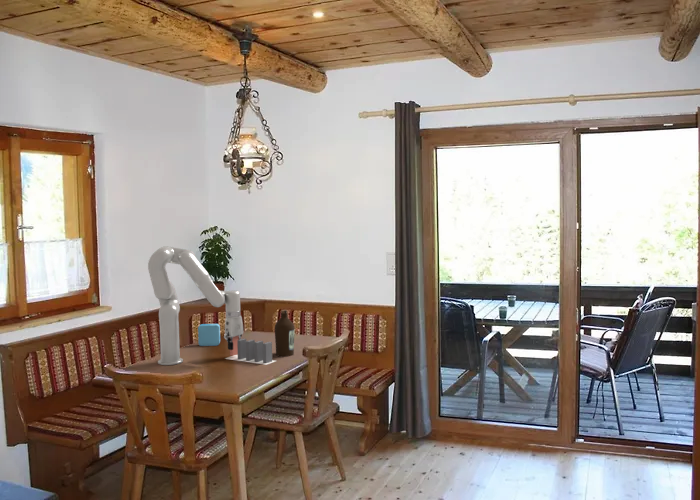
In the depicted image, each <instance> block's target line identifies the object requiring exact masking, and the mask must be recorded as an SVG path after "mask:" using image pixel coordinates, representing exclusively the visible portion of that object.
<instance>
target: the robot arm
mask: <svg viewBox="0 0 700 500" xmlns="http://www.w3.org/2000/svg"><path fill="white" fill-rule="evenodd" d="M169 263H170V264H174V265H180V266H181V268H182V269H184V270H183V271H185V272H186V274H187V275H188V276H189V277H190V279H191V280H192V281H193V282H194V284H195V285H196V287H197V288H198V289H199V291H200V292H201V293H202V295H203V296H204V297H205V298H206V299H207V301H208V302H209V304H211V306H213V307H215V308H221V307H222V306H223V305H224V304H225V320H224V321H225V322H224V336H223V338H224V339H225V341H226V342H227V350H229V351H230V350H233V342H232V340H233V337H235V336H239V340H240V339H242V336H243V334H244V324H243V323H244V322H243V317H242V315H241V295H240V294H241V292H240V291H238V290H219V288H218V287H217V286H216V285H215V283H214V282H213V280H212V278H211V276H210V274H209V272H208V271H207V270H206V268H205V267H204V266H203V265H202V263H201V262H200V261H199V260H198V258H197V257H196V254H195V252H194V251H192V250H191V249H183V248H179V247H173V246H161V247H160V248H158V249H157V250H156V251H154V253H152V254H151V256H150V257H149V260H148V262H147V270H148V274H149V278H150V281H151V286H152V289H153V294H154V296H155V298H156V299H157V300H158V301H159V302H158V303H159V305H160V308H159V310H158V320H159V340H160V341H159V343H160V359H158V361H157V364H158V365H162V366H173V365H179V364H182V363H183V362H184V358H181V355H180V354H181V353H180V351H181V350H180V349H181V348H180V323H179V313H180V311H181V307H180V302H179V299H178V295H177V292H176V289H175V285H174V284H173V283H172V281H170V280H169V279H170V278H169V275H168V272H167V269H166V265H167V264H169ZM229 337H231V339H230V338H229Z"/></svg>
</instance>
